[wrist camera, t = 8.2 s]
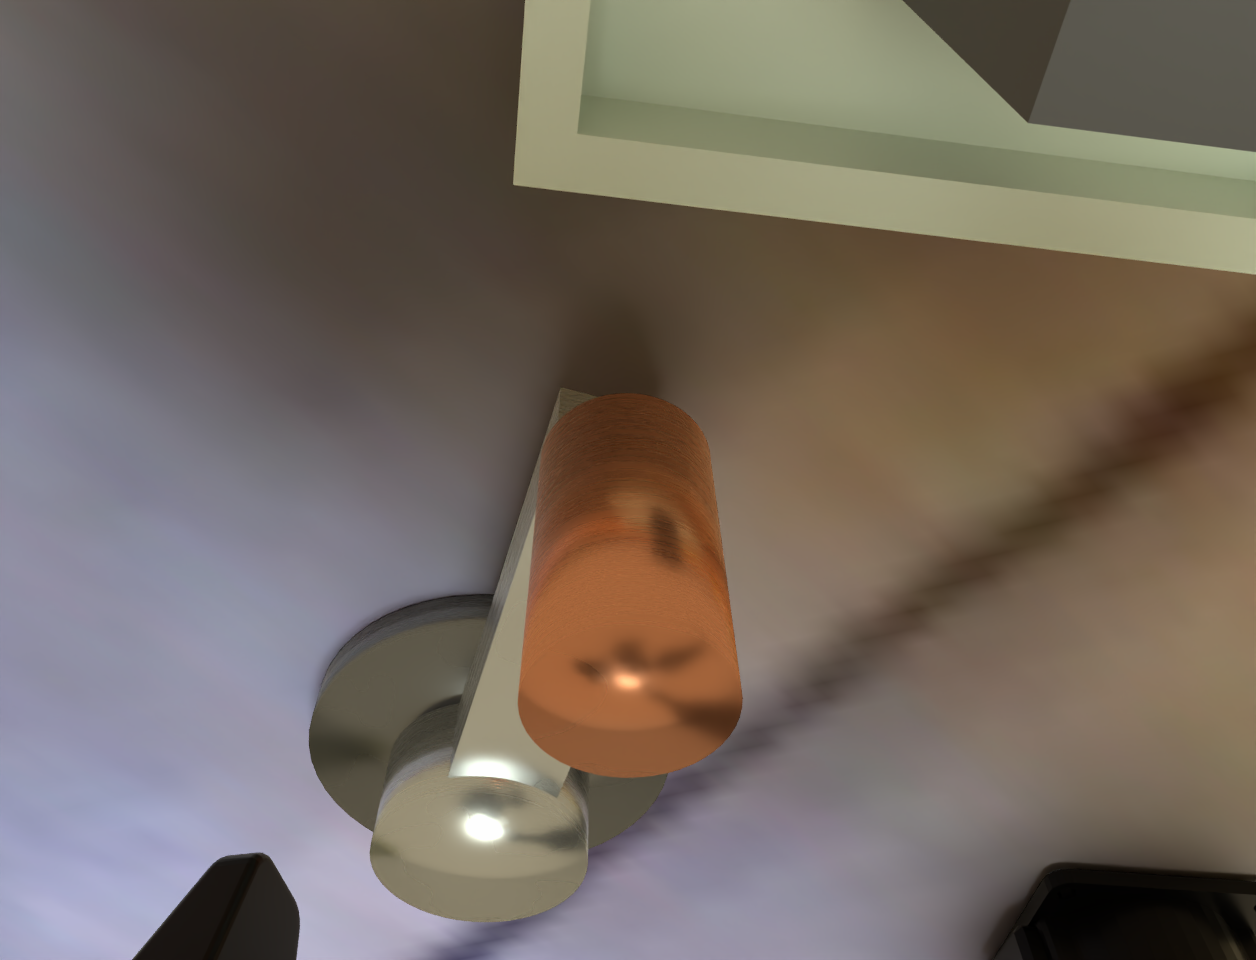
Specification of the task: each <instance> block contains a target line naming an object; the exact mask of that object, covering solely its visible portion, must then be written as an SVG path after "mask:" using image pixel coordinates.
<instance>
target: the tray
mask: <svg viewBox="0 0 1256 960" xmlns="http://www.w3.org/2000/svg"><path fill="white" fill-rule="evenodd" d="M513 185H517V186H526V187H534V188H542V189H551V190H559V191H567V192H576V193H584V194H592V195H600V196H609V197H617V198H625V199H634V200H642V201H650V202H658V203H667V204H675V205H683V206H692V207H700V208H708V209H717V210H725V211H733V212H741V213H750V214H758V215H766V216H775V217H783V218H791V219H800V220H808V221H816V222H824V223H833V224H841V225H849V226H858V227H866V228H874V229H882V230H891V231H899V232H907V233H916V234H924V235H932V236H941V237H949V238H957V239H965V240H974V241H982V242H990V243H999V244H1007V245H1015V246H1023V247H1032V248H1040V249H1048V250H1057V251H1065V252H1073V253H1082V254H1090V255H1098V256H1106V257H1115V258H1123V259H1131V260H1140V261H1148V262H1156V263H1164V264H1173V265H1181V266H1189V267H1198V268H1206V269H1214V270H1223V271H1231V272H1239V273H1247V274H1256V152H1250V151H1242V150H1235V149H1227V148H1219V147H1211V146H1203V145H1195V144H1188V143H1180V142H1172V141H1164V140H1156V139H1148V138H1141V137H1133V136H1125V135H1117V134H1109V133H1101V132H1094V131H1086V130H1078V129H1070V128H1062V127H1054V126H1047V125H1039V124H1031V123H1027V122H1026V121H1025V120H1024V119H1023V118H1022V117H1021V116H1020V115H1019V114H1018V113H1017V112H1016V111H1015V110H1014V109H1013V108H1012V107H1011V106H1010V105H1009V104H1008V103H1007V102H1006V101H1005V100H1004V99H1003V98H1002V97H1001V96H1000V95H999V94H998V93H997V92H996V91H995V90H994V89H993V88H992V87H991V86H989V85H988V84H987V83H986V82H985V81H984V80H983V79H982V78H981V77H980V76H979V75H978V74H977V73H976V72H975V71H974V70H973V69H972V68H971V67H970V66H969V65H968V64H967V63H966V62H965V61H964V60H963V59H962V58H961V57H960V56H959V55H958V54H957V53H956V52H955V51H954V50H953V49H952V48H951V47H950V46H949V45H948V44H947V43H946V42H944V41H943V40H942V39H941V38H940V37H939V36H938V35H937V34H936V33H935V32H934V31H933V30H932V29H931V28H930V27H929V26H928V25H927V24H926V23H925V22H924V21H923V20H922V19H921V18H920V17H919V16H918V15H917V14H916V13H915V12H914V11H913V10H912V9H911V8H910V7H909V6H908V5H907V4H906V3H905V2H904V1H903V0H525V13H524V28H523V43H522V58H521V73H520V88H519V103H518V118H517V133H516V148H515V163H514V178H513Z"/></svg>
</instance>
